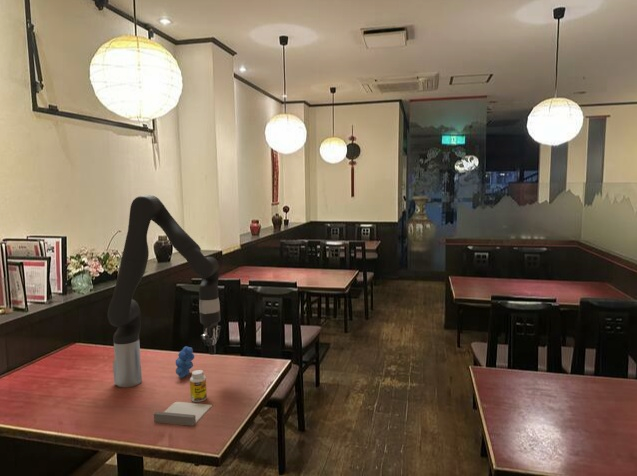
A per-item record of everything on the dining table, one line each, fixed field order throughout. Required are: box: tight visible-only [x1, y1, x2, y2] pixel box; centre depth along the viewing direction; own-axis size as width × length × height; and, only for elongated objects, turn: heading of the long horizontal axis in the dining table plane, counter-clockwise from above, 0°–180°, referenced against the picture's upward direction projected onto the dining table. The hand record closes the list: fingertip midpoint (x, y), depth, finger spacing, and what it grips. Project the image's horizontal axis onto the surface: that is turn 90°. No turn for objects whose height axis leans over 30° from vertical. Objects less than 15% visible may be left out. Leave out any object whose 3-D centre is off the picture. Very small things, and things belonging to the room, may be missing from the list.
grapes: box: [175, 345, 195, 379], centre depth 183 cm, size 12×7×12 cm, turn 164°
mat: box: [153, 401, 213, 427], centre depth 152 cm, size 14×13×3 cm
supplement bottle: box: [189, 369, 207, 403], centre depth 162 cm, size 6×6×10 cm
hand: (212, 353), depth 173 cm, fingers closed
